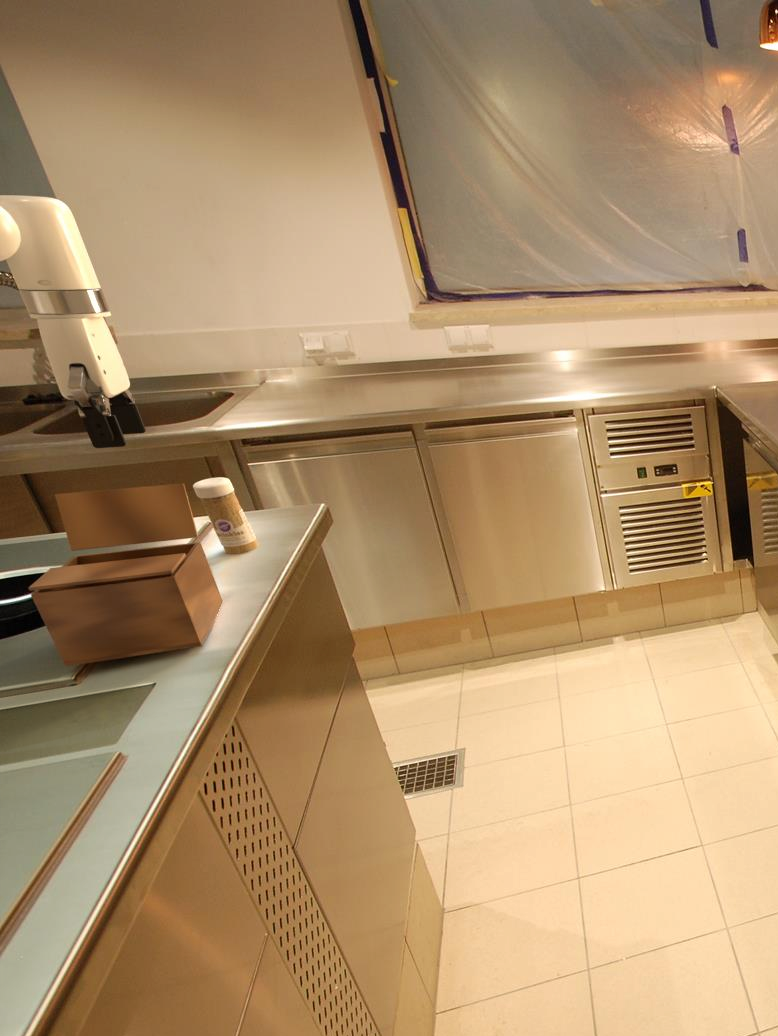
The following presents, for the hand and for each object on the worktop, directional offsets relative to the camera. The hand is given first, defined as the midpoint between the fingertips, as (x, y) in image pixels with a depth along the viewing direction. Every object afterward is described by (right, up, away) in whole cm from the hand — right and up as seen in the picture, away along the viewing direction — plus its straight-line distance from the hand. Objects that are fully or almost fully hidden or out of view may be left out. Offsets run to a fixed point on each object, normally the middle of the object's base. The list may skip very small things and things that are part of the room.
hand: (121, 439), depth 114 cm
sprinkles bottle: (0, -15, +21) cm, 26 cm away
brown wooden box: (+8, -27, -4) cm, 28 cm away
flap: (+4, -11, -3) cm, 12 cm away
